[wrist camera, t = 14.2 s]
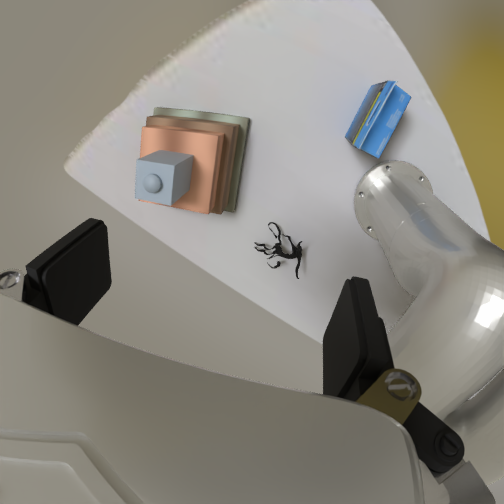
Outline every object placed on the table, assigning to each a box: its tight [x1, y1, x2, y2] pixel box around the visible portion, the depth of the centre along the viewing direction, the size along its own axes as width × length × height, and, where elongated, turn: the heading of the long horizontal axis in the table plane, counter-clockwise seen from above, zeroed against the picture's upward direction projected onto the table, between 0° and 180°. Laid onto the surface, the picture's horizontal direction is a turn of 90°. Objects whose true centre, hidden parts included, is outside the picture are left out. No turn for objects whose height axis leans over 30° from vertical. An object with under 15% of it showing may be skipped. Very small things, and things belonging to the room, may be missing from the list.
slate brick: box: [135, 150, 194, 206], centre depth 34 cm, size 4×4×7 cm
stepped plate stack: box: [138, 107, 249, 215], centre depth 40 cm, size 14×14×8 cm
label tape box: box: [345, 80, 411, 158], centre depth 32 cm, size 9×4×12 cm, turn 156°
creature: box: [254, 222, 302, 279], centre depth 46 cm, size 8×5×8 cm
